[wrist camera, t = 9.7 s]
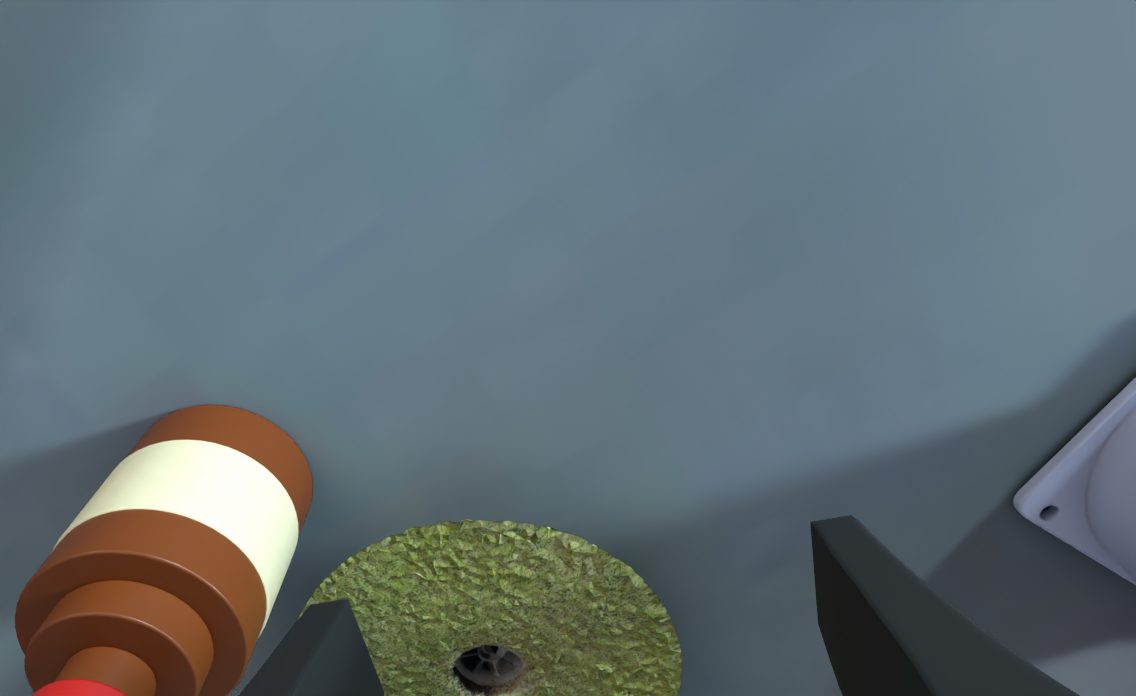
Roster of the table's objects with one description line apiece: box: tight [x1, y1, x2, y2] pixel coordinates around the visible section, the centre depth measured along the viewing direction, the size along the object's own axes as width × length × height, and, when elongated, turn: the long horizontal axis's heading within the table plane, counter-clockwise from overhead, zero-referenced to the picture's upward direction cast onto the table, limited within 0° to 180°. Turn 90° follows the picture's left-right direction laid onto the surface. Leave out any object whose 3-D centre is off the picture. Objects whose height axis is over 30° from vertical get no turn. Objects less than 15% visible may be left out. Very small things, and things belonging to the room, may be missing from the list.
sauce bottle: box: [15, 405, 313, 696], centre depth 20 cm, size 5×5×9 cm
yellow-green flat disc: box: [298, 519, 682, 696], centre depth 25 cm, size 11×11×2 cm
